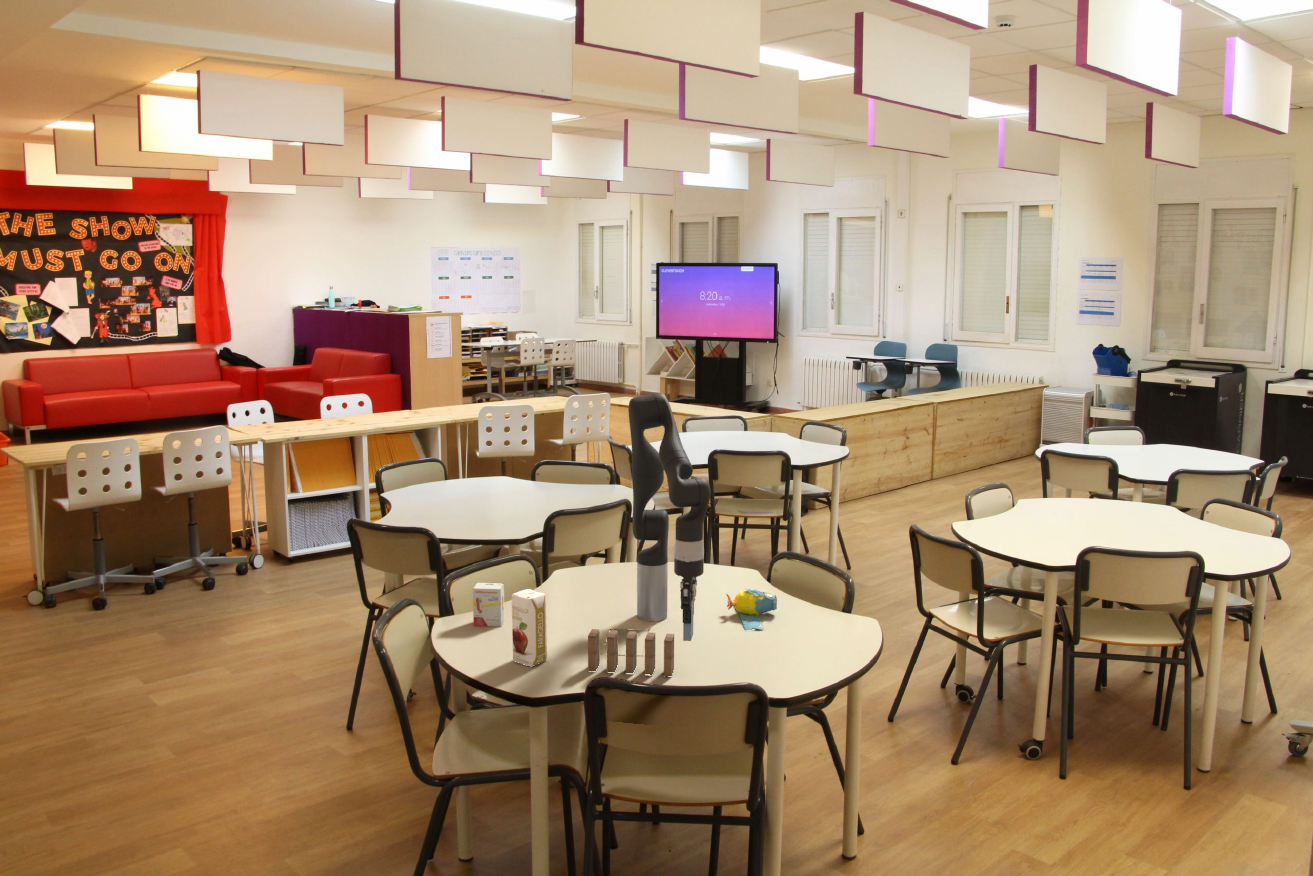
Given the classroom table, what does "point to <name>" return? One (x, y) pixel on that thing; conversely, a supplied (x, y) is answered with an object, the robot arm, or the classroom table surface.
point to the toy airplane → (752, 606)
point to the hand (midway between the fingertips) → (688, 619)
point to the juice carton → (529, 627)
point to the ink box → (488, 604)
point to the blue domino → (688, 626)
